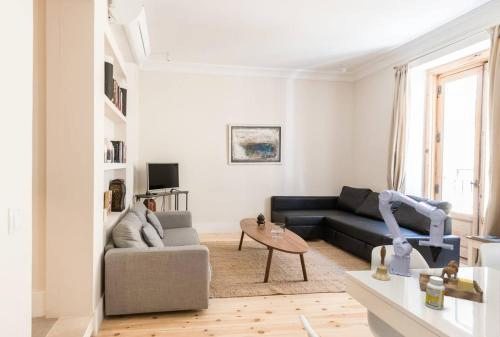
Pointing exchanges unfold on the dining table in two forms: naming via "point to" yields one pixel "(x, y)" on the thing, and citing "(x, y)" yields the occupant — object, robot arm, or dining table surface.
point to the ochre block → (465, 284)
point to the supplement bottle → (435, 293)
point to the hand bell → (382, 267)
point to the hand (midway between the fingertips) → (434, 261)
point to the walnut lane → (454, 288)
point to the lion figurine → (451, 270)
